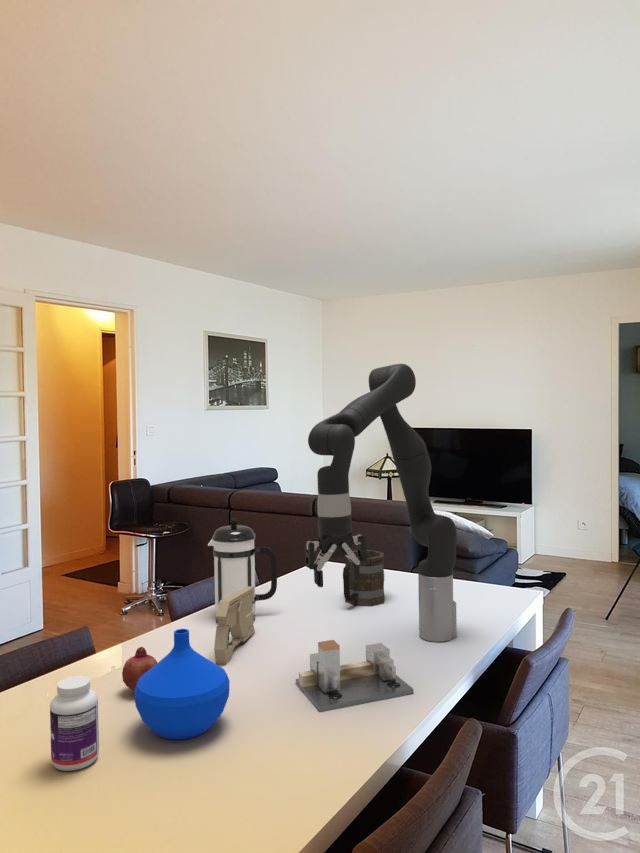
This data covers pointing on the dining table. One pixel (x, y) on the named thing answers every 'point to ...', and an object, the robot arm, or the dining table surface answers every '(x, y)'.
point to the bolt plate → (356, 692)
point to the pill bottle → (74, 724)
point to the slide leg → (327, 666)
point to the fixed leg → (381, 661)
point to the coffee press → (238, 562)
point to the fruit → (137, 667)
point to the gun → (233, 623)
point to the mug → (365, 581)
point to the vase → (182, 692)
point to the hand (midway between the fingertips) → (337, 583)
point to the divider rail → (345, 673)
